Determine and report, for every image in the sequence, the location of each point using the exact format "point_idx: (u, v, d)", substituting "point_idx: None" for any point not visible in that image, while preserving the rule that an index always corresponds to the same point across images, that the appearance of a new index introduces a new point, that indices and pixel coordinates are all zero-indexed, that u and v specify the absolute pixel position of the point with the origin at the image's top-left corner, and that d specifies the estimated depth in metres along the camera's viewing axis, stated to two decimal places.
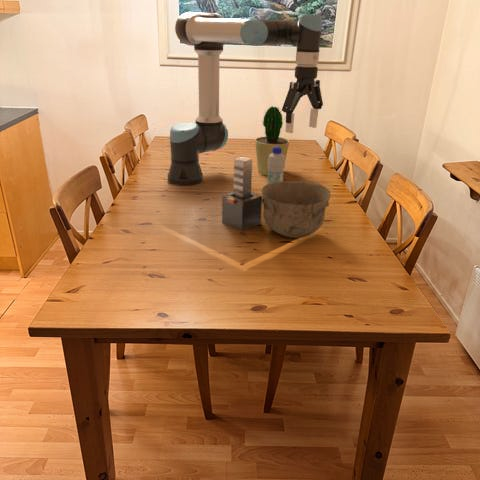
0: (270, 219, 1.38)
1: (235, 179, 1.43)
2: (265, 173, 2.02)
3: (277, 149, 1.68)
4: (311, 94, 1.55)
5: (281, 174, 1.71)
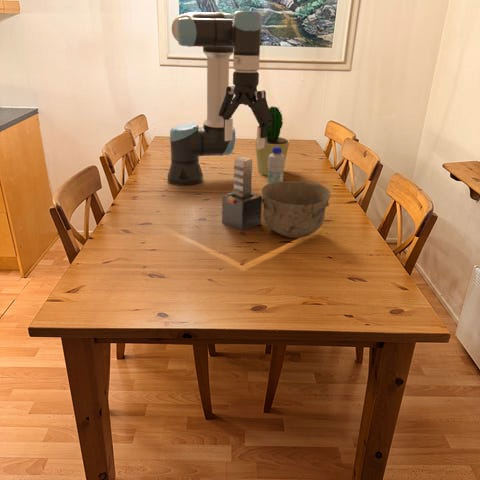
0: (270, 219, 1.38)
1: (235, 179, 1.43)
2: (265, 173, 2.02)
3: (277, 149, 1.68)
4: None
5: (281, 174, 1.71)
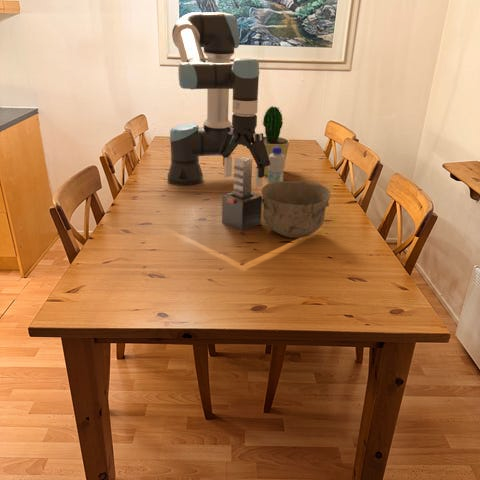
0: (270, 219, 1.38)
1: (235, 179, 1.43)
2: (265, 173, 2.02)
3: (277, 149, 1.68)
4: None
5: (281, 174, 1.71)
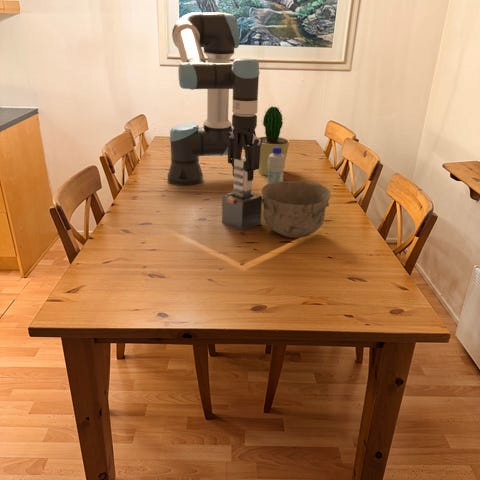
0: (270, 219, 1.38)
1: (235, 179, 1.43)
2: (265, 173, 2.02)
3: (277, 149, 1.68)
4: None
5: (281, 174, 1.71)
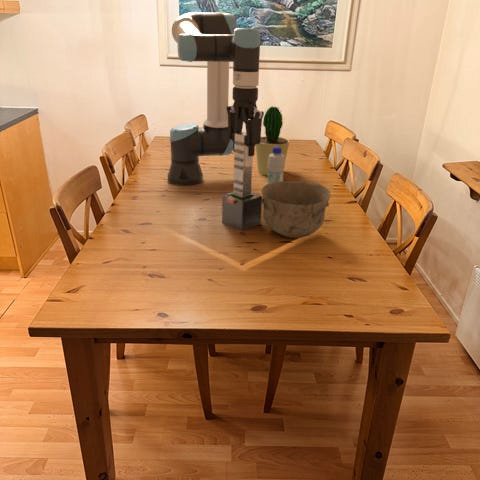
0: (270, 219, 1.38)
1: (236, 155, 1.40)
2: (265, 173, 2.02)
3: (277, 149, 1.68)
4: None
5: (281, 174, 1.71)
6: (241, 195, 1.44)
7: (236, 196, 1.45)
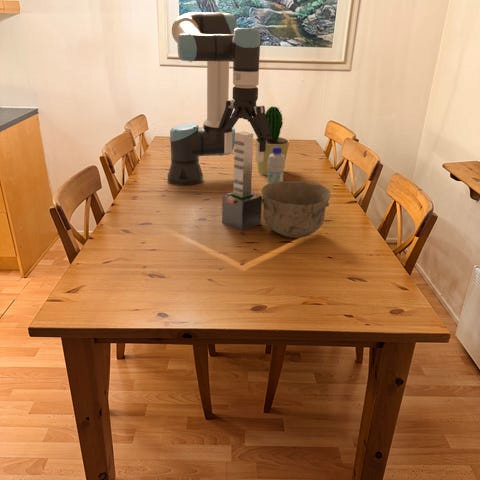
0: (270, 219, 1.38)
1: (236, 155, 1.40)
2: (265, 173, 2.02)
3: (277, 149, 1.68)
4: None
5: (281, 174, 1.71)
6: (241, 195, 1.44)
7: (236, 196, 1.45)
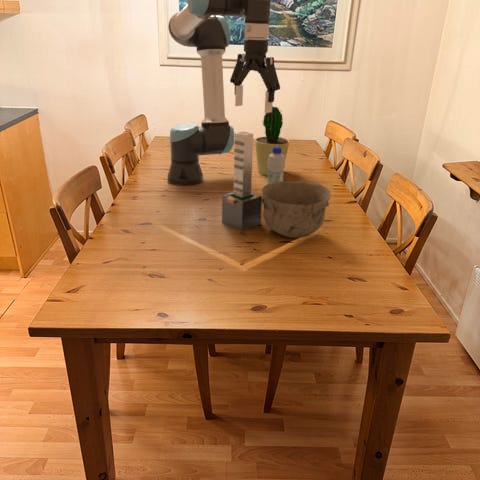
0: (270, 219, 1.38)
1: (236, 155, 1.40)
2: (265, 173, 2.02)
3: (277, 149, 1.68)
4: None
5: (281, 174, 1.71)
6: (241, 195, 1.44)
7: (236, 196, 1.45)
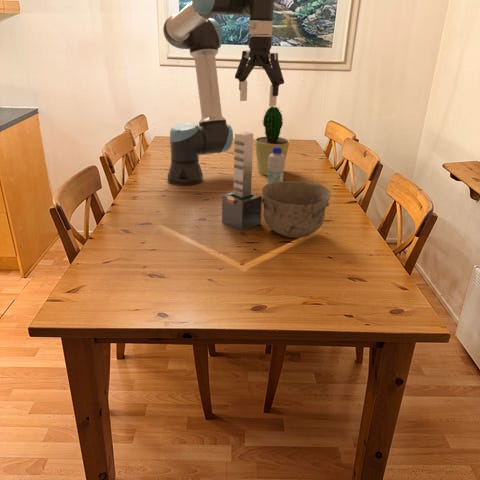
0: (270, 219, 1.38)
1: (236, 155, 1.40)
2: (265, 173, 2.02)
3: (277, 149, 1.68)
4: None
5: (281, 174, 1.71)
6: (241, 195, 1.44)
7: (236, 196, 1.45)
